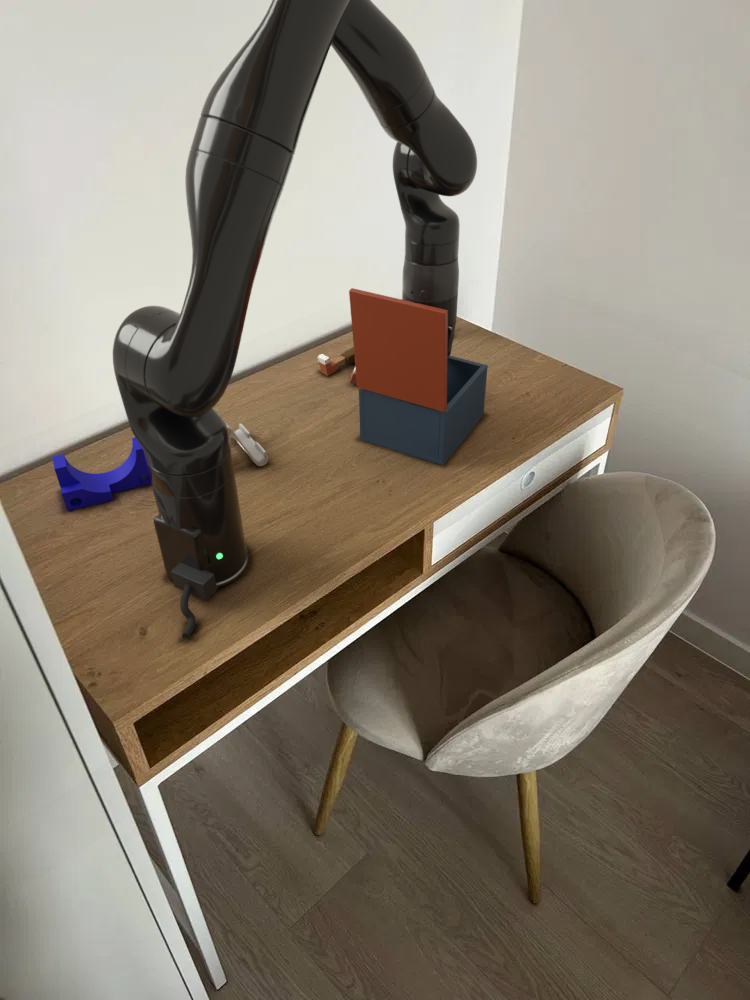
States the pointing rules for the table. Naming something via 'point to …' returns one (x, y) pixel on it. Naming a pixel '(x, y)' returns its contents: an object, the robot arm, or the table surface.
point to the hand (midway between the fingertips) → (426, 395)
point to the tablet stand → (248, 445)
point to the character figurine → (338, 363)
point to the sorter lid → (400, 348)
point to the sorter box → (427, 415)
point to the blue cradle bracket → (100, 479)
